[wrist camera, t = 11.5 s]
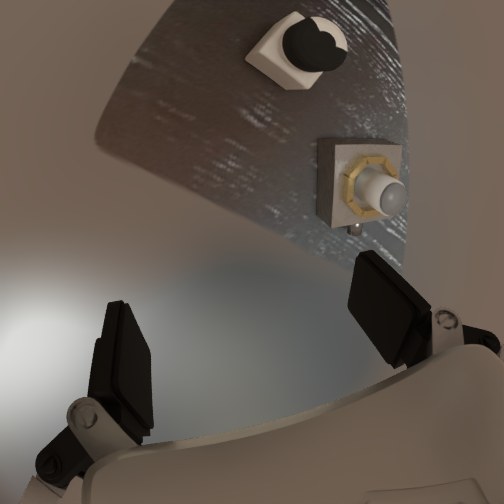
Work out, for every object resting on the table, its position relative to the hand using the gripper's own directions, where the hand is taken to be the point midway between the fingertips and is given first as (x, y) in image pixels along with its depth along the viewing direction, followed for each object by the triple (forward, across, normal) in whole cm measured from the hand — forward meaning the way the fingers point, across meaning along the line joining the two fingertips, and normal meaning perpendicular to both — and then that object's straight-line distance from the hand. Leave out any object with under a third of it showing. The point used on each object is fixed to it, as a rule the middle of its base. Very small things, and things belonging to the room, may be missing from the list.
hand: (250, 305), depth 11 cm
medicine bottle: (+28, -12, -13) cm, 34 cm away
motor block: (+28, -23, +7) cm, 37 cm away
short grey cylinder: (+23, -23, +5) cm, 33 cm away
